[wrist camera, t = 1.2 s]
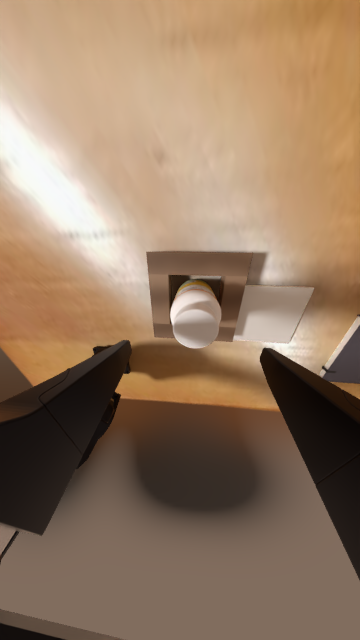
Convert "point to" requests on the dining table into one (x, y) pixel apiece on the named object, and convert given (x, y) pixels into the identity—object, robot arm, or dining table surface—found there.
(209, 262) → the block
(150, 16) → the dining table surface
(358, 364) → the notebook
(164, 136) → the dining table surface
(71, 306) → the dining table surface
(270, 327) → the coaster
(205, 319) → the supplement bottle
